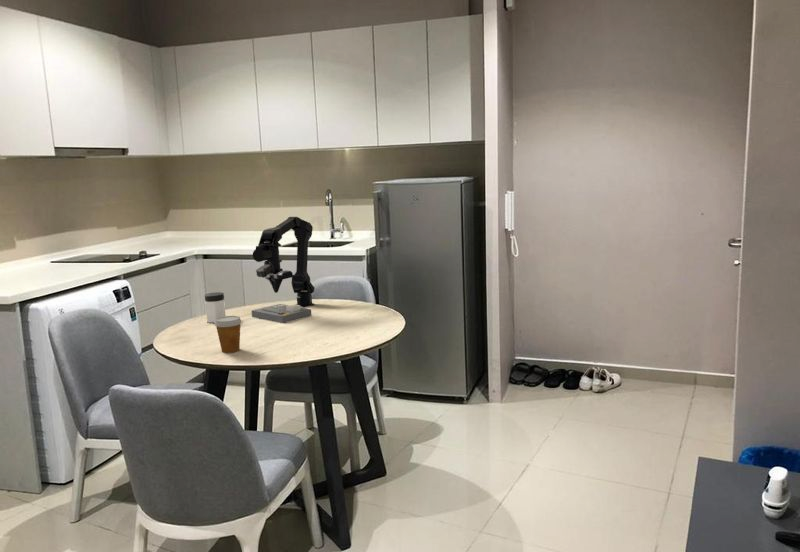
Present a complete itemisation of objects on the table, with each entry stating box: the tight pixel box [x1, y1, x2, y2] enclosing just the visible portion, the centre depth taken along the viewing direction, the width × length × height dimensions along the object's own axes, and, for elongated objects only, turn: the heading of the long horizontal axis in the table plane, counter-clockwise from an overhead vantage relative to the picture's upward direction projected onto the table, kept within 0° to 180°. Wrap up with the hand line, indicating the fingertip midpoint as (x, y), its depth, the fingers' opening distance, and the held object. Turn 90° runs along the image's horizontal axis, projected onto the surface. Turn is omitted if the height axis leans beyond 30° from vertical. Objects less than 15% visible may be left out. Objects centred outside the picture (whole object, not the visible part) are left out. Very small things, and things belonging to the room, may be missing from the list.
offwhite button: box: [286, 304, 302, 312], centre depth 290 cm, size 4×4×2 cm
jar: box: [204, 291, 227, 324], centre depth 288 cm, size 9×8×12 cm
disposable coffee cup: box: [214, 315, 242, 354], centre depth 239 cm, size 10×10×12 cm
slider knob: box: [276, 304, 287, 313], centre depth 283 cm, size 3×3×3 cm
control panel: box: [251, 303, 312, 324], centre depth 291 cm, size 16×22×3 cm
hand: (276, 292), depth 292 cm, fingers closed
